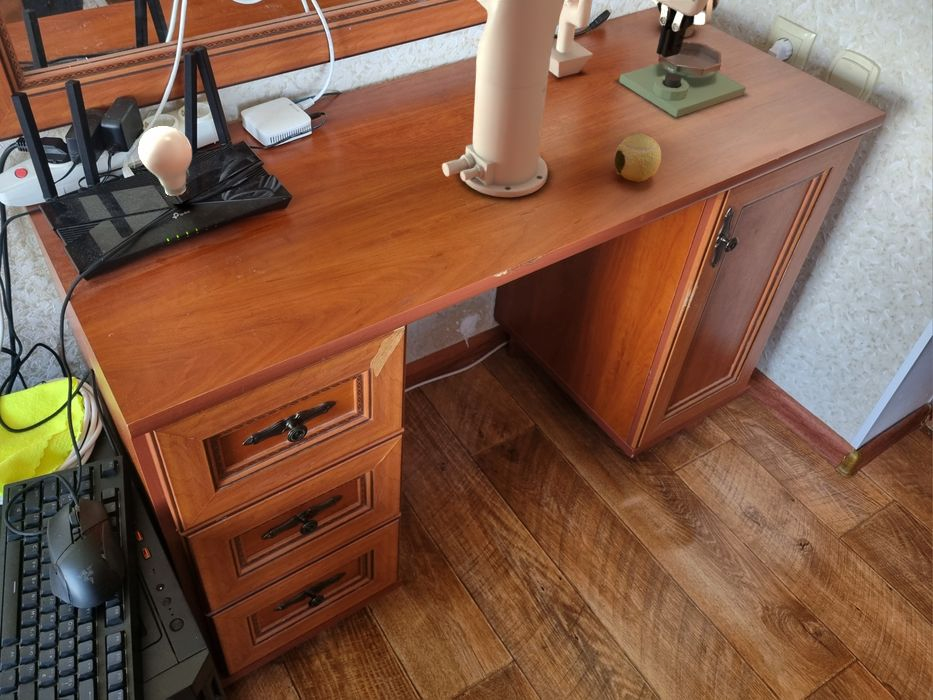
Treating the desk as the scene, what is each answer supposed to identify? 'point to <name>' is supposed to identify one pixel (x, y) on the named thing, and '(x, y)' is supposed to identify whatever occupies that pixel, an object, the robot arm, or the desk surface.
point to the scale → (681, 89)
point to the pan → (693, 61)
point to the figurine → (570, 39)
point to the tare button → (672, 80)
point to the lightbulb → (167, 157)
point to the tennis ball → (637, 157)
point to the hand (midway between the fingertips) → (667, 53)
